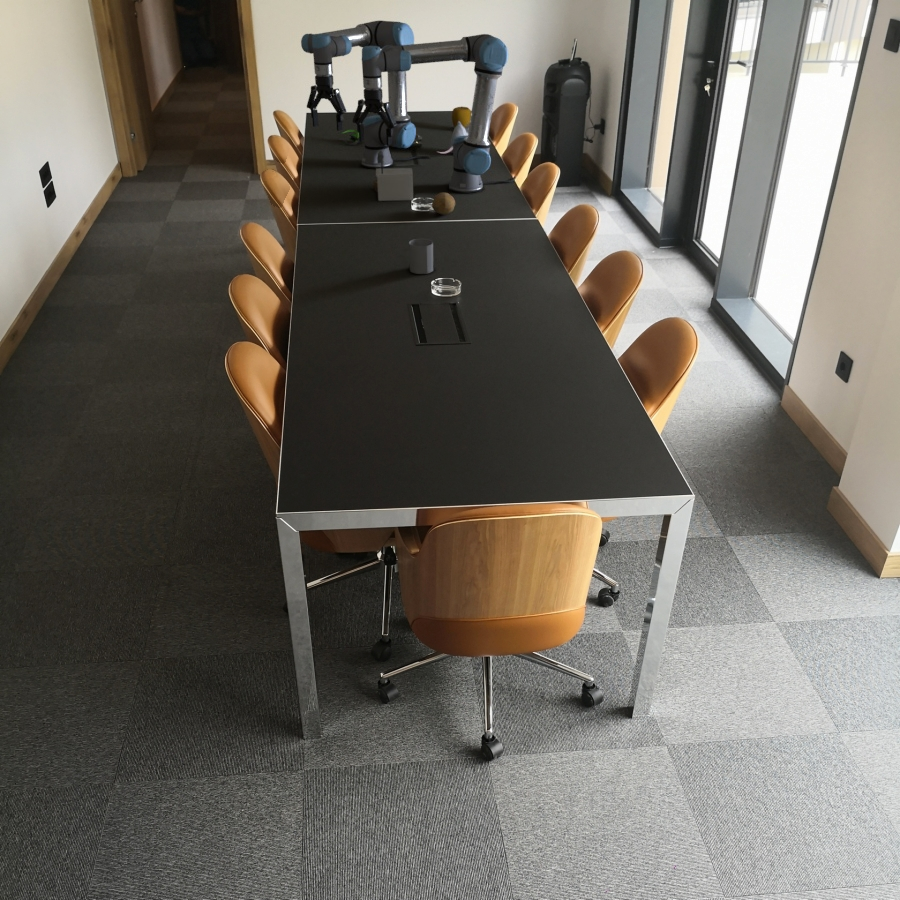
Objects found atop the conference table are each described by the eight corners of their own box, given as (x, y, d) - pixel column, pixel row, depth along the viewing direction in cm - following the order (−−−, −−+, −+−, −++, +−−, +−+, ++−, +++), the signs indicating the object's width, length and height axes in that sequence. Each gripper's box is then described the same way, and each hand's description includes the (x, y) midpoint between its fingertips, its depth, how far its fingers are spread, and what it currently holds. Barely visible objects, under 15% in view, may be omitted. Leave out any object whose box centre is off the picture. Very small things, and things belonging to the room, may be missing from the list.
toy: (474, 152, 449) (475, 122, 441) (443, 160, 434) (443, 129, 426) (462, 149, 454) (462, 119, 446) (430, 157, 439) (430, 126, 431)
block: (376, 191, 390) (376, 182, 387) (373, 189, 393) (373, 180, 390) (385, 190, 391) (384, 181, 389) (382, 188, 394) (381, 179, 392)
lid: (376, 176, 373) (375, 155, 368) (376, 170, 381) (375, 149, 376) (412, 176, 373) (412, 154, 369) (412, 170, 382) (411, 149, 377)
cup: (409, 265, 311) (408, 238, 306) (432, 265, 312) (431, 238, 307) (410, 274, 304) (409, 246, 299) (433, 273, 305) (433, 246, 299)
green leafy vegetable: (396, 126, 467) (340, 124, 465) (396, 141, 460) (339, 139, 458) (396, 136, 472) (341, 134, 470) (396, 151, 465) (340, 149, 463)
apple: (471, 132, 486) (471, 108, 479) (451, 132, 486) (451, 108, 479) (470, 128, 495) (471, 104, 488) (452, 128, 495) (452, 104, 488)
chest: (378, 200, 378) (377, 177, 373) (378, 194, 386) (377, 170, 381) (413, 200, 379) (412, 176, 374) (412, 193, 387) (412, 170, 382)
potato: (453, 208, 369) (453, 189, 365) (456, 218, 357) (456, 199, 353) (431, 208, 368) (430, 189, 364) (432, 218, 356) (432, 199, 352)
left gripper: (295, 73, 364) (300, 125, 376) (340, 79, 352) (344, 133, 364) (307, 70, 369) (311, 122, 381) (352, 76, 358) (355, 130, 369)
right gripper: (342, 87, 352) (345, 141, 363) (394, 92, 341) (396, 148, 353) (352, 84, 357) (355, 137, 369) (404, 89, 347) (405, 144, 358)
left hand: (327, 128), depth 372 cm, fingers open, 13 cm apart
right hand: (375, 142), depth 361 cm, fingers open, 13 cm apart
